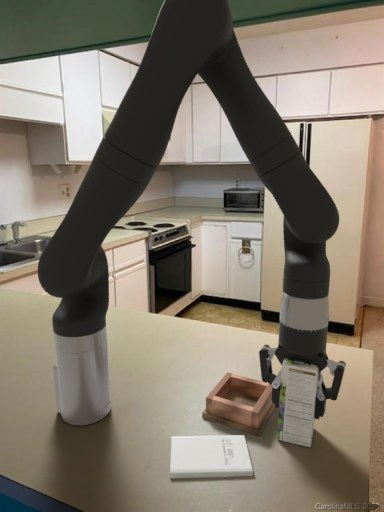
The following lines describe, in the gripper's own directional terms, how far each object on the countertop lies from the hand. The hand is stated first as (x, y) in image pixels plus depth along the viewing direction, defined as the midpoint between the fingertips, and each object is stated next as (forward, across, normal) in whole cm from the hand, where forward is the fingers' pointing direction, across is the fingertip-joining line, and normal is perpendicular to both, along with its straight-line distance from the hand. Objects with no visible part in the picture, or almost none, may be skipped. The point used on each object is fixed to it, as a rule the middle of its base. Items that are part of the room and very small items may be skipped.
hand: (297, 410), depth 66 cm
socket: (+5, -11, +2) cm, 12 cm away
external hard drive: (+5, -11, -12) cm, 17 cm away
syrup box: (+5, 0, 0) cm, 5 cm away
